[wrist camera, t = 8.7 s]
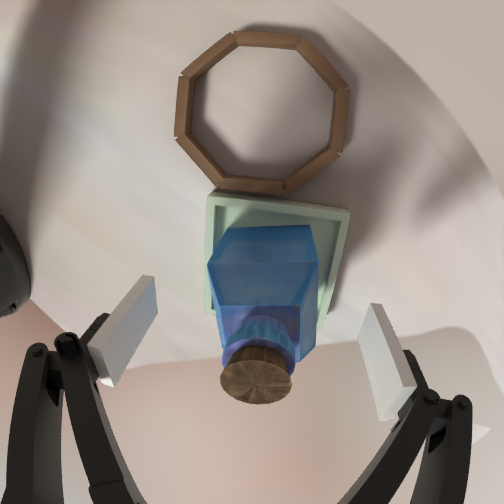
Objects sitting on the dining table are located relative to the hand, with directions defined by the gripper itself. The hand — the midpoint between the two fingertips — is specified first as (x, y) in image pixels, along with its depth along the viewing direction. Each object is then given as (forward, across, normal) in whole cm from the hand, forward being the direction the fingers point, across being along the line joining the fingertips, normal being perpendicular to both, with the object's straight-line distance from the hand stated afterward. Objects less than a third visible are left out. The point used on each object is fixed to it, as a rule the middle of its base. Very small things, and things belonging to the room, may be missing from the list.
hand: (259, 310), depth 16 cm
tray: (+7, 0, 0) cm, 7 cm away
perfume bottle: (+7, 0, 0) cm, 7 cm away
